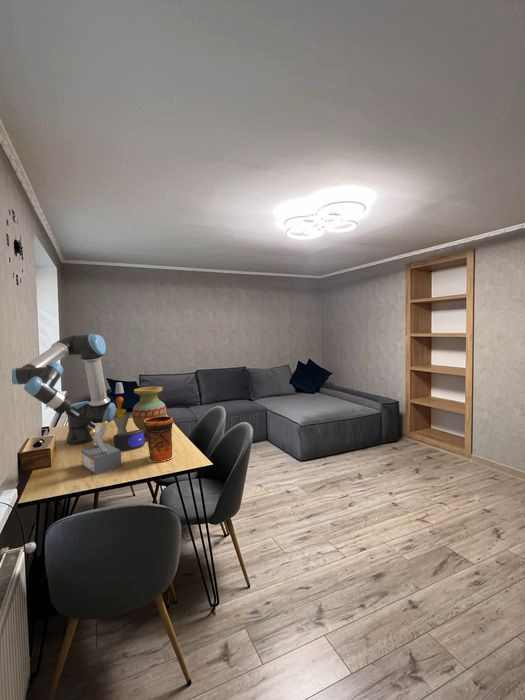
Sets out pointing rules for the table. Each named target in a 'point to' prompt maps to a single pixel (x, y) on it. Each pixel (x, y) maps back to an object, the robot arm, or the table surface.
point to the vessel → (159, 438)
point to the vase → (147, 407)
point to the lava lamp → (120, 411)
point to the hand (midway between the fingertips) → (99, 430)
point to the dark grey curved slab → (129, 440)
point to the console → (101, 459)
